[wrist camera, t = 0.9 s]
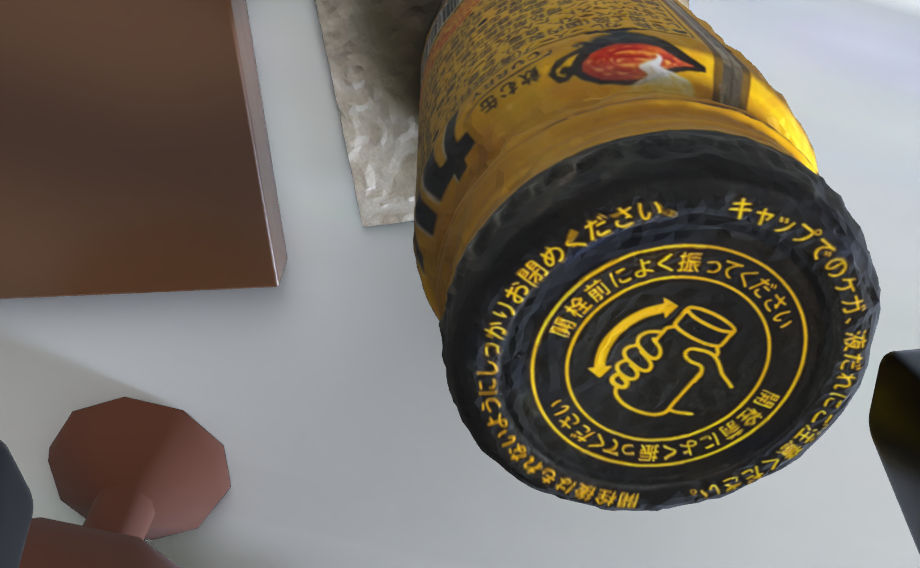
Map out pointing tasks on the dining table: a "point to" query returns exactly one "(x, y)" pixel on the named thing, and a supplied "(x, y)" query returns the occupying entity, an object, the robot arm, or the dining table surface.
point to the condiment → (608, 238)
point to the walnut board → (133, 150)
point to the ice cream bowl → (127, 485)
